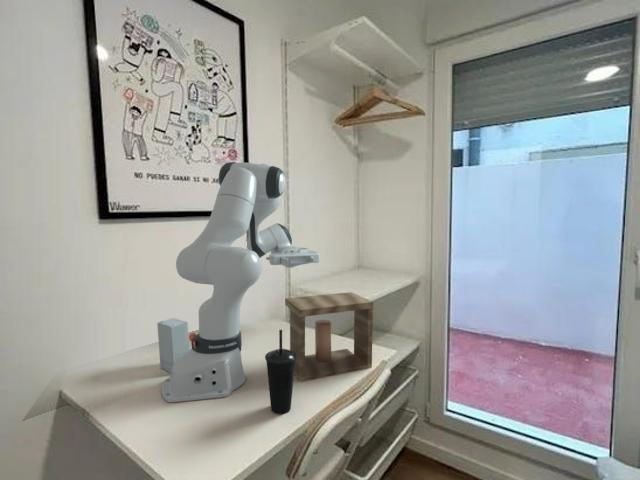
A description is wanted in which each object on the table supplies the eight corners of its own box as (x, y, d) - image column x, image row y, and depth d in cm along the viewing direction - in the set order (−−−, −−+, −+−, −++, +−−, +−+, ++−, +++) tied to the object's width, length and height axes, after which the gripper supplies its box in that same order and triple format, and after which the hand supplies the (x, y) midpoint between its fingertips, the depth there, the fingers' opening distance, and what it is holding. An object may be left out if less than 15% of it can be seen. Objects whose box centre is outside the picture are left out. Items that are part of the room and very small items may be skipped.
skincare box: (191, 368, 108) (189, 321, 106) (172, 375, 103) (171, 326, 102) (176, 361, 113) (174, 316, 112) (158, 367, 108) (156, 321, 107)
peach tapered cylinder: (319, 362, 110) (319, 325, 109) (312, 356, 115) (312, 321, 114) (334, 359, 112) (333, 323, 111) (326, 353, 117) (326, 318, 116)
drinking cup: (298, 401, 90) (298, 325, 88) (293, 418, 82) (293, 336, 80) (269, 399, 90) (269, 324, 89) (261, 416, 83) (261, 335, 81)
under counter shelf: (299, 381, 100) (300, 310, 98) (285, 362, 113) (285, 298, 111) (371, 367, 109) (373, 301, 108) (350, 350, 122) (351, 292, 120)
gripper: (264, 249, 140) (274, 254, 127) (312, 248, 148) (325, 251, 135) (264, 265, 140) (274, 271, 128) (311, 262, 148) (325, 267, 136)
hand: (300, 261), depth 131 cm, fingers open, 8 cm apart
